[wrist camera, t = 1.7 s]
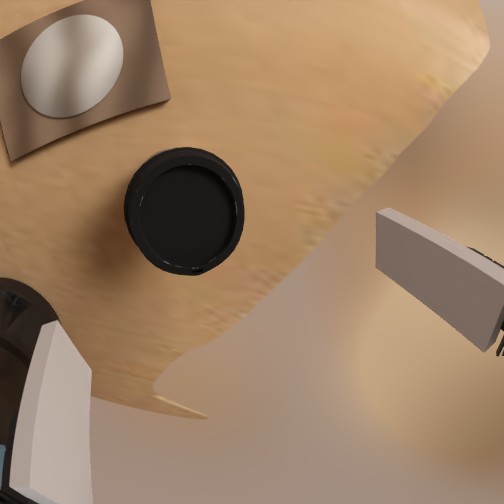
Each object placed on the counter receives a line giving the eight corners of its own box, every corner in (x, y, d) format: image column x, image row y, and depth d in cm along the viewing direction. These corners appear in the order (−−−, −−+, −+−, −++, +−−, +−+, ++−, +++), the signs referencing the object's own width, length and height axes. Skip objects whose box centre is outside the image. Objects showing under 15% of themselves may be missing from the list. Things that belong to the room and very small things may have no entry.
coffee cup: (137, 220, 32) (137, 291, 19) (125, 144, 28) (110, 164, 16) (211, 206, 34) (257, 266, 22) (204, 132, 31) (250, 142, 18)
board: (16, 159, 24) (9, 162, 23) (-6, 48, 18) (-13, 45, 16) (169, 99, 28) (171, 98, 26) (146, -13, 21) (147, -20, 20)
